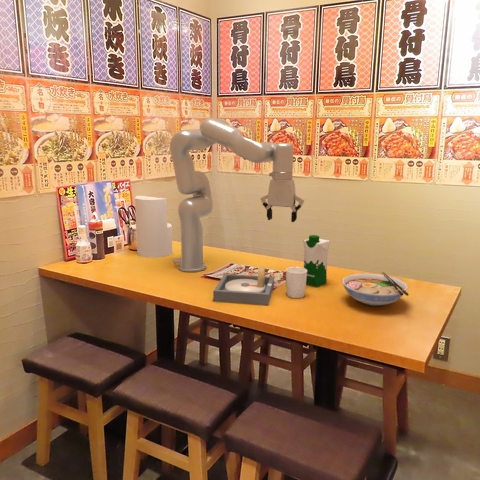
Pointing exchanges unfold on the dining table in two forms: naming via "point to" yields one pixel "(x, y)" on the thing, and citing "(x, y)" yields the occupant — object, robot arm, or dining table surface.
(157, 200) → the cylinder
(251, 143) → the robot arm
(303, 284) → the white cup
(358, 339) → the dining table surface
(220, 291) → the dial housing
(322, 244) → the milk carton
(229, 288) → the dial
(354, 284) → the ramen bowl
